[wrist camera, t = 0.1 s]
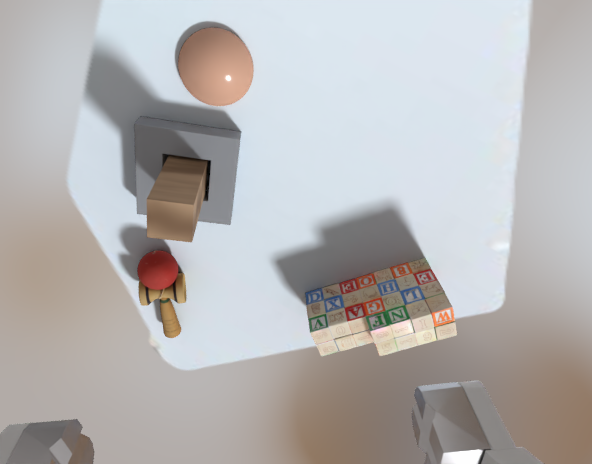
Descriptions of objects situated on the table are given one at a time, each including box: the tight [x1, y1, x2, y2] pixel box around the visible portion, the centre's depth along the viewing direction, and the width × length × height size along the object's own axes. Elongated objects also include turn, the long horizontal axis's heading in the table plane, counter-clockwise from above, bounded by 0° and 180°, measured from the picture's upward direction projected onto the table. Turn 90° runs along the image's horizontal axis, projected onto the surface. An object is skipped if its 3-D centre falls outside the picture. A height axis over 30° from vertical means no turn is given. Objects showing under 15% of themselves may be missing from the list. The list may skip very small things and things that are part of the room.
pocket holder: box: [134, 116, 241, 225], centre depth 57 cm, size 13×13×3 cm
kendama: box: [137, 250, 186, 338], centre depth 67 cm, size 8×6×18 cm
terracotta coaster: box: [178, 27, 253, 106], centre depth 51 cm, size 9×9×1 cm
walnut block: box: [147, 155, 209, 242], centre depth 52 cm, size 5×5×14 cm
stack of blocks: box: [305, 258, 457, 356], centre depth 67 cm, size 21×6×12 cm, turn 108°
